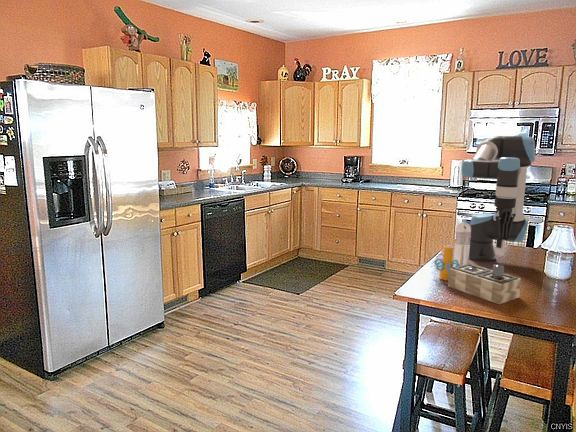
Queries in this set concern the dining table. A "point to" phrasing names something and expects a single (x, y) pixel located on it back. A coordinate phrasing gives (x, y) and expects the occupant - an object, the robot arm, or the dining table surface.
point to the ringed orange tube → (446, 263)
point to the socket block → (484, 284)
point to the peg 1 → (471, 269)
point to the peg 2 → (498, 271)
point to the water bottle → (462, 243)
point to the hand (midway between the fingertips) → (499, 255)
